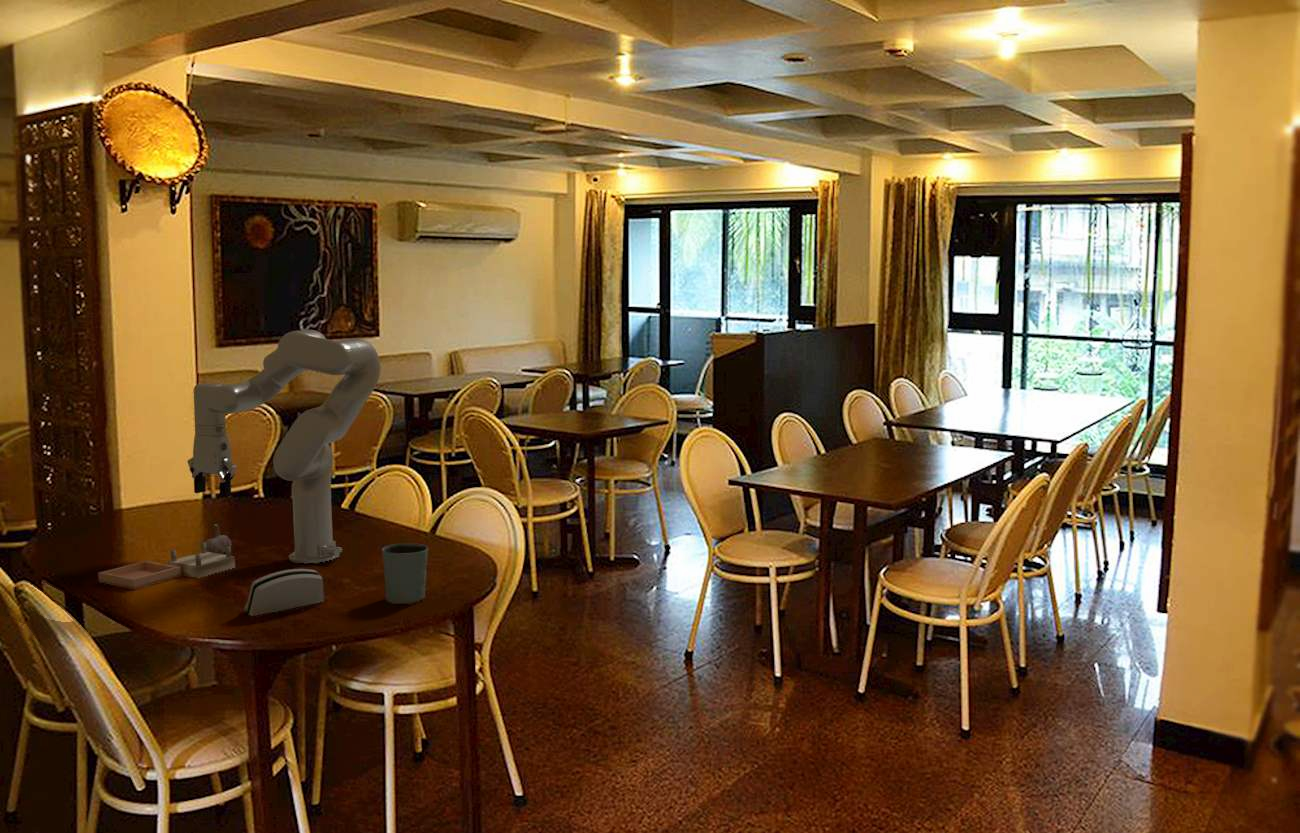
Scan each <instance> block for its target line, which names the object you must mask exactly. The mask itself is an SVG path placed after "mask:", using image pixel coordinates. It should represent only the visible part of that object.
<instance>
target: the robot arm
mask: <svg viewBox="0 0 1300 833" xmlns="http://www.w3.org/2000/svg"><path fill="white" fill-rule="evenodd" d="M262 365H263V369H262V370H260V371H259V372H258V373H256V374H255V375H254V376H252V377H251V378H249V379H248V380H246V381H241V382H235V383H232V384H231V383H230V384H224V385H223V384H221V383H218V382H201V383H198V384H197V383H196V384H195V386H193V412H194V413H193V414H194V436H193V438H194V439H193V445H192V446H193V448H192V457H191V458H190V459H187V461H186V462H187V464H188V467H189V471H190V473H191V474H192V475H191V477H192V479H193V492H194V494H200V493H205V492H206V491H207V490H206V489H207V488H206V486H207V485H206V477H205V474H208V475H217V477H218V478H219V480H220V481H219V482H218V484H219V490H218V491H219V497H220V498H226V497H230V496H232V481H233V479H234V477H235V473H236V470H237V465H235V464H234V463H233V458H232V452H231V451H232V449H231V444H230V440H229V437H228V435H227V429H226V414H229V415H231V414H238V413H242V412H246V411H250V410H254V409H257V408H259V407H260V406H263V405H264V404H265V403H267V402H268V401H269V400H271V399H273V398H274V397H276V396H277V395H278V394H279V393H280V392H281V391H282V390H283V389H284V388H285V387H286V385H287V384H288V383H290V382H291V381H292V380H295V378H297V377H298V376H300V375H301V374H303V373H304V372H305V371H311V372H316V373H321V374H325V375H331V376H341V375H344V376H342V378H341V379H340V380H339V381H338V382H337V384H335V386H334V387H333V389H332V390H331V392H330V393H329V395H328V397H327V398H326V399H325V401H324V402H323V403H322V404H321V405H319V406H318V407H314V408H310V409H307V410H305V411H304V412H302V413H301V414H300V415H299V416H298V417H297V418H296V419H295V420H294V422H293V423H292V424H291V426H290V428H289V430H288V431H287V432H286V434H285V436H284V437H283V439H282V440H281V442H280V444H278V447H277V448H276V450H275V452H274V454H273V462H272V465H273V469H274V471H275V473H276V474H277V475H278V477H280V478H281V479H283V480H286V481H293V484H292V511H293V513H292V514H293V515H292V516H293V518H292V519H293V536H294V551H293V552H292V553H290V554H289V555H288V560H289V561H290V562H291V563H293V564H300V563H304V565H310V564H309V563H314V564H321V563H320V562H323V563H326V562H325V561H328V562H330V561H329V560H332V561H334V560H333V559H335V558H337V557H338V558H340V556H339V555H340V553H342V552H343V547H341V546H340V547H339V546H337V544H336V543H337V541H336V540H333V518H332V516H333V515H332V489H331V488H332V486H331V485H332V472H333V463H334V460H333V459H334V455H333V454H334V453H333V450H332V448H331V446H330V444H332V443H335V442H338V441H339V440H341V439H342V438H344V437H345V435H346V434H347V432H348V431H349V429H350V428H351V426H352V425H353V423H354V422H355V420H356V418H357V417H358V415H359V414H360V412H361V410H362V408H363V407H364V405H365V404H366V402H367V401H368V399H369V398H370V397H371V395H372V393H373V392H374V390H375V388H376V387H377V384H378V382H379V379H380V376H381V360H380V357H379V354H378V352H377V350H376V348H375V347H374V346H373V345H372V343H370V342H369V341H367V340H365V339H363V338H347V339H346V338H345V339H338V340H331V339H327V338H326V336H325V335H324V334H323V333H321V332H320V331H318V330H314V329H303V330H302V329H301V330H293V331H292V330H291V331H289V332H287V333H285V334H284V335H283V336H282V337H281V338H280V340H279V341H278V344H277V348H276V349H275V350H273V351H271V352H270V353H269V354H267V355H266V356H265V357H264V359H263V361H262ZM338 558H337V559H338ZM335 560H336V559H335ZM307 563H308V564H307Z"/></svg>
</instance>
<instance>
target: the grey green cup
mask: <svg viewBox="0 0 1300 833" xmlns="http://www.w3.org/2000/svg"><path fill="white" fill-rule="evenodd" d="M428 553H429V547H428V546H427V545H425V544H422V543H412V542H411V543H410V542H405V543H403V542H402V543H401V542H400V543H394V544H390V545H387V546H384V547H382V548H381V556H382V563H383V571H384V573H383V574H384V582H385V586H384V587H385V599H386V600H385V601H386V602H387V601H389V602H392V603H411V602H415V601H419V600H421V599H423V598H424V597H425V598H426V580H427V566H428V555H429V554H428Z"/></svg>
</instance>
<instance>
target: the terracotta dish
mask: <svg viewBox="0 0 1300 833" xmlns="http://www.w3.org/2000/svg"><path fill="white" fill-rule="evenodd" d="M97 574H98V583H99V582H101V583H106V584H110V585H109V586H111V585H115V586H114V587H116V586H120V587H119V588H121V587H125V588H124V589H126V588H130V589H129V590H131V589H137V588H140V587H144V586H147V585H151V584H154V583H158V582H162V581H165V582H167V581H166V580H169V581H171V580H170V579H172V580H174V579H173V578H176V579H178V578H177V577H180V578H182V575H181V567H178V566H172V565H168V563H167V564H166V563H161V562H155V561H149V560H143V561H139V562H135V563H131V564H127V565H124V566H119V567H117V568H115V567H114V568H112V569H108V570H104V571H100V572H98V573H97ZM101 583H100V584H101ZM162 583H163V582H162ZM106 584H105V585H106ZM158 584H159V583H158ZM151 586H152V585H151ZM144 588H145V587H144ZM137 590H138V589H137Z"/></svg>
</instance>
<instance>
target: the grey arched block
mask: <svg viewBox="0 0 1300 833" xmlns="http://www.w3.org/2000/svg"><path fill="white" fill-rule="evenodd" d="M323 580H324V579H323V577H322V576H321V575H320V573H319V572H318V571H317V570H315V569H309V568H308V569H307V568H293V569H285V570H284V569H283V570H280V571H276V572H273V573H269V574H266V575H264V576H262V577H260V578H258V579H255V580H253V581H252V583H251V586H250V589H249V592H248V598H247V602H246V604H244V609H243V610H245V611H246V612H245V613H248V611H249V613H248V616H249V615H251V616H254V615H258V614H259V615H260V614H264V613H270V612H276V613H278V612H277V611H281V610H285V609H290V608H295V607H299V606H305V605H310V604H314V603H320V602H324V603H325V601H324V581H323ZM281 612H282V611H281Z"/></svg>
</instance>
